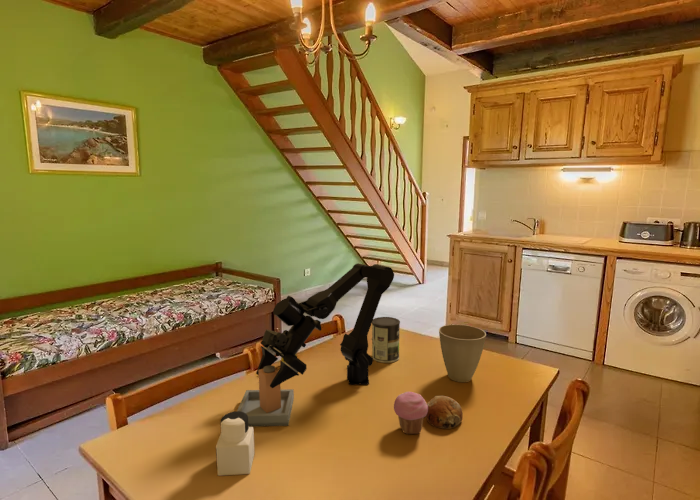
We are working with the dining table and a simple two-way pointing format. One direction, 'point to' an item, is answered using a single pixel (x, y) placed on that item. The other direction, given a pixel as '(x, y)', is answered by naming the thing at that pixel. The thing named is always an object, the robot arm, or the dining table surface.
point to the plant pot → (461, 350)
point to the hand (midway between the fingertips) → (263, 380)
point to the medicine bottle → (235, 445)
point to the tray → (259, 416)
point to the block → (269, 389)
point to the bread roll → (444, 412)
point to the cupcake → (410, 411)
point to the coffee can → (385, 339)
